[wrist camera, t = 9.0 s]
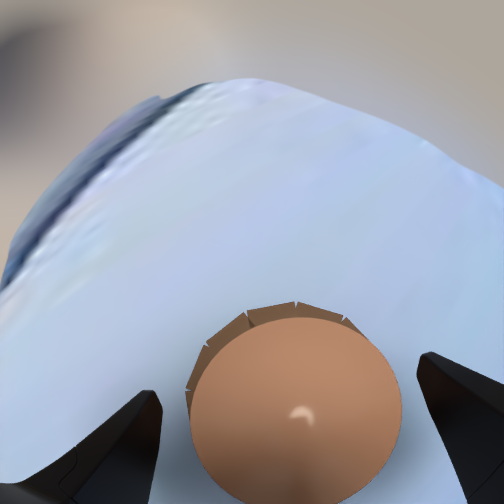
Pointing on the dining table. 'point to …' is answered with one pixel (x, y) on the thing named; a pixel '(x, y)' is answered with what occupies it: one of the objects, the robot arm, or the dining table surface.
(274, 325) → the terracotta canister
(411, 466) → the dining table surface
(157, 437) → the robot arm
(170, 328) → the dining table surface
